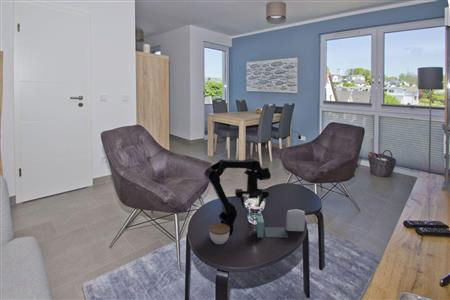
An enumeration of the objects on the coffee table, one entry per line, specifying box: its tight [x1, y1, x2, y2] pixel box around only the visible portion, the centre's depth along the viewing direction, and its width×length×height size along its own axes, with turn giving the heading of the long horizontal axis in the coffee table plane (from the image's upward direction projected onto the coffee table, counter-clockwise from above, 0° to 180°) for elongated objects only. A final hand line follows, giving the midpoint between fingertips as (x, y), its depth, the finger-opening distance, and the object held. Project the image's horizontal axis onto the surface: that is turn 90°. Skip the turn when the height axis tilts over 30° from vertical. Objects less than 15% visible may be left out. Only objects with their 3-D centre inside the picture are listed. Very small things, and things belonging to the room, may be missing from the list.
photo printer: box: [285, 209, 306, 232], centre depth 169 cm, size 10×4×12 cm, turn 86°
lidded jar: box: [208, 222, 230, 245], centre depth 156 cm, size 11×11×9 cm
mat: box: [264, 226, 289, 239], centre depth 167 cm, size 12×11×1 cm
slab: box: [256, 215, 265, 238], centre depth 165 cm, size 3×8×9 cm, turn 179°
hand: (251, 207), depth 171 cm, fingers open, 9 cm apart
